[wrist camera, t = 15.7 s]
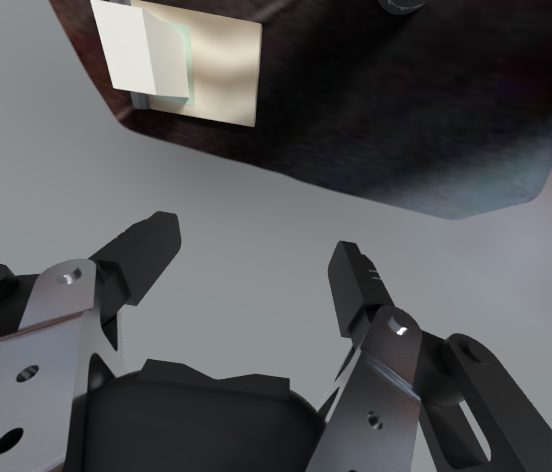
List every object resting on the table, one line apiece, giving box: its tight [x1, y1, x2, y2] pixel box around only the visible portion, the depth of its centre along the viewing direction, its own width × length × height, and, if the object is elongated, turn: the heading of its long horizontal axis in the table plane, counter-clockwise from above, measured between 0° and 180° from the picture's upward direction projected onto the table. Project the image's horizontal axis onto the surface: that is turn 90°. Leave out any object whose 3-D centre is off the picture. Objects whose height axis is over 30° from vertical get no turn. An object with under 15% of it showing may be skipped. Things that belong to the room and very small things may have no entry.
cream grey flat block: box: [110, 0, 262, 127], centre depth 28 cm, size 12×18×4 cm, turn 82°
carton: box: [91, 0, 189, 98], centre depth 25 cm, size 5×7×9 cm
